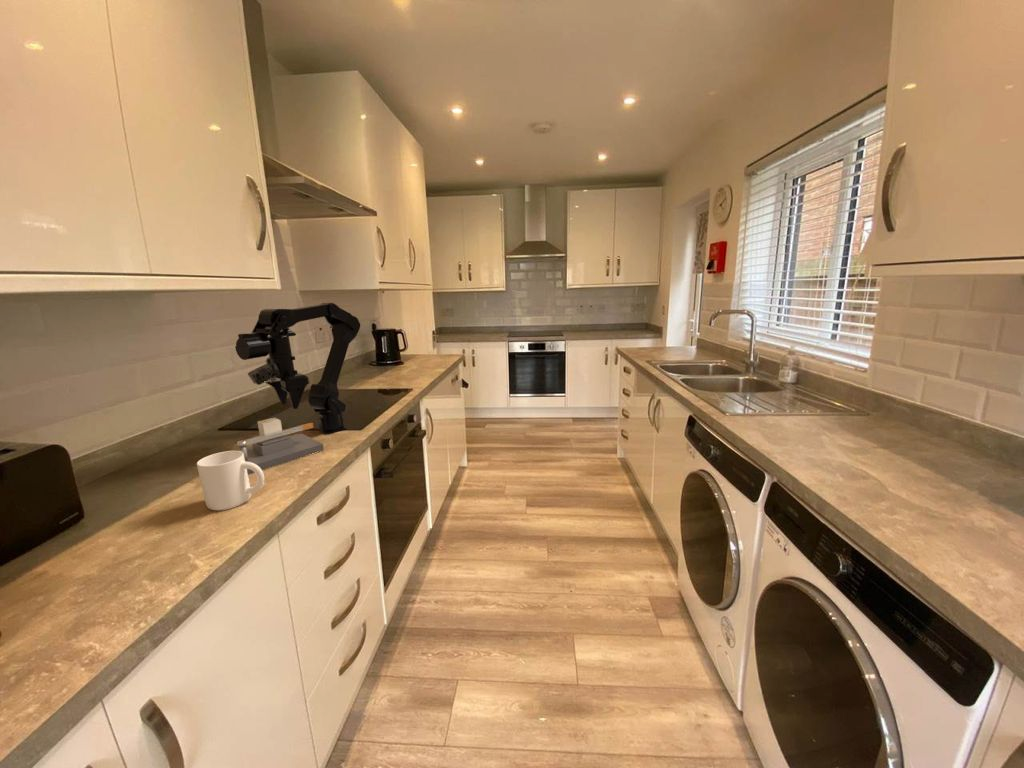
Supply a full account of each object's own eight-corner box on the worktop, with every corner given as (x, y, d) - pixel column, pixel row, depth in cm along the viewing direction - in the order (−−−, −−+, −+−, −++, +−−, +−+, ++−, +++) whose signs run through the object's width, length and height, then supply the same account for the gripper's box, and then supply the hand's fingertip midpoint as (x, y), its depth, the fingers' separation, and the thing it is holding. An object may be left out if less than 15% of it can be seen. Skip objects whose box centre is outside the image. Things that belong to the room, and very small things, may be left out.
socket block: (302, 439, 126) (299, 421, 125) (323, 450, 116) (321, 431, 115) (226, 460, 112) (222, 440, 110) (244, 475, 102) (240, 454, 101)
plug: (282, 441, 119) (277, 415, 117) (291, 447, 114) (286, 420, 113) (256, 449, 114) (251, 421, 112) (264, 454, 110) (259, 426, 108)
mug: (276, 489, 94) (268, 447, 92) (258, 508, 86) (249, 463, 84) (220, 494, 93) (211, 452, 91) (197, 513, 85) (187, 467, 83)
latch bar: (311, 426, 119) (310, 422, 119) (314, 427, 118) (313, 423, 118) (236, 446, 105) (235, 441, 105) (239, 448, 104) (238, 443, 104)
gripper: (237, 355, 115) (247, 407, 119) (261, 361, 104) (271, 419, 107) (279, 349, 124) (287, 399, 127) (305, 354, 112) (314, 409, 115)
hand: (289, 406), depth 119 cm, fingers open, 8 cm apart
